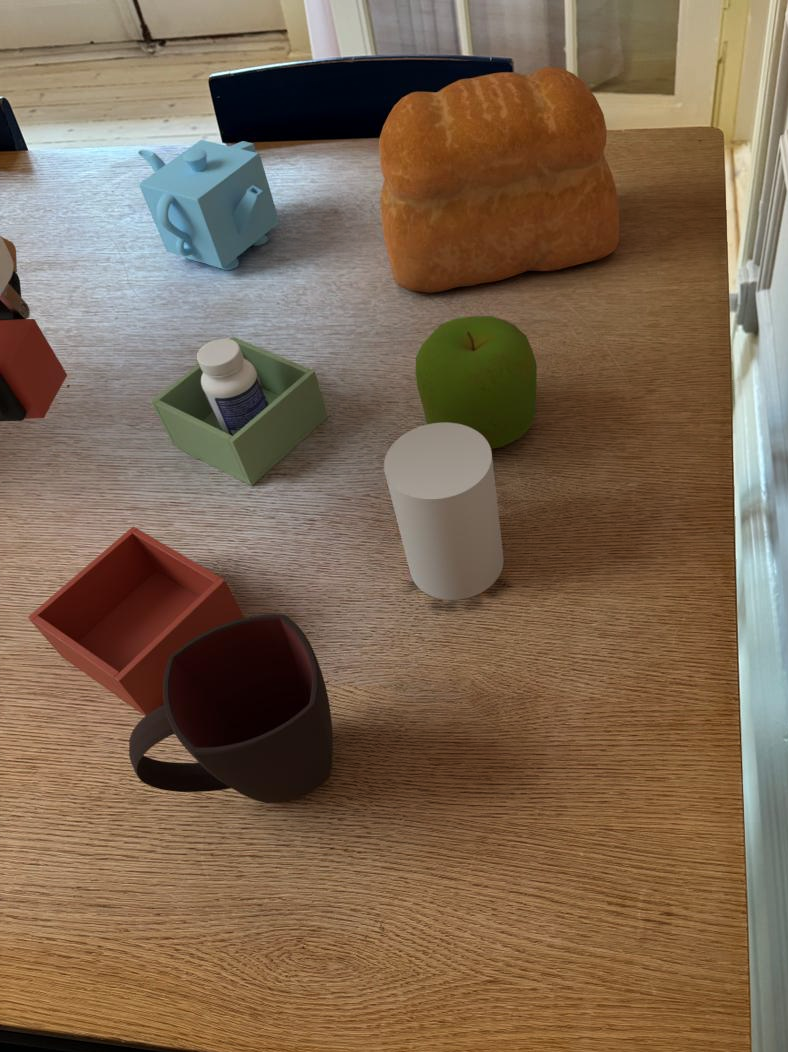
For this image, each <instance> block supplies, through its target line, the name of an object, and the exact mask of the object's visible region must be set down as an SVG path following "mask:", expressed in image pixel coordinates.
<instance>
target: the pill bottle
mask: <svg viewBox="0 0 788 1052" xmlns="http://www.w3.org/2000/svg"><path fill="white" fill-rule="evenodd" d="M196 359H197V362H198V364H199V365H200V367H201V370H202V371H203V374H202V377H201V385H202V388H203V391H204V393H205V395H206V397H207V400H208V402H209V404H210V406H211V408H212V411H213V413H214V415H215V418H216V420H217V422H218V425H219V427H220V429H221V431H223V432H225V433H227V434H229V435H232V436H234V435H235V434H236V433H237V432H238V431H239V430H241V429H242V428H243V427H244V426H245V425H246V424H248V423H249V422H250V421H251V420H252V419H253V418H255V417H256V416H257V415H258V414H259V413H260V412H262V411H263V410H264V409H265V408H266V407H267V406H269V404H268V402H267V399H266V396H265V394H264V391H263V388H262V385H261V383H260V380H259V377H258V375H257V372H256V370H255V368H254V366H253V365H252V364H251V363H250V362H249V361H248V360H246V359H244V357H243V354H242V352H241V349H240V347H239V345H238V343H237V342H235V341H234V340H231V339H230V338H218V339H214V340H210V341H209V342H207V343H205V344H203V346H201V347H200V348H199V349H198V352H197V354H196Z"/></svg>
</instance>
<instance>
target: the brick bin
mask: <svg viewBox="0 0 788 1052" xmlns="http://www.w3.org/2000/svg"><path fill="white" fill-rule="evenodd" d="M27 618H28V620H29V621H30V622H31V623H32V625H34V627H35V628H36V630H38V632H40V634H41V635H42V637H44V639H45V640H46V641H47V642H48V643H49V644H50V645H51V646H52V648H54V650H55V651H56V652H57V654H59V656H60V657H61V658H63V659H64V660H66V661H67V662H69V664H71V665H72V666H74V667H76V668H77V669H78V670H80V671H81V672H83V673H84V674H85V675H87V676H88V677H90V678H91V679H92V680H94V681H95V682H97V683H98V684H99V685H100V686H102V687H104V688H105V689H106V690H108V691H109V692H111V693H112V694H114V695H115V696H116V697H117V698H119V699H121V700H122V701H123V702H124V703H126V704H127V705H129V706H130V707H132V708H133V709H134V710H136V711H137V712H139V713H140V714H141V715H142V716H144V717H145V716H147V715H148V714H149V713H151V712H152V711H154V710H155V709H157V708H159V707H161V706H163V705H164V698H163V684H164V676H165V671H166V667H167V663H168V659H169V657H170V656H171V655H172V654H173V653H175V652H176V651H177V650H178V649H180V648H181V647H182V646H184V645H185V644H187V643H188V642H190V641H191V640H193V639H194V638H196V637H198V636H199V635H201V634H203V633H205V632H207V631H209V630H211V629H213V628H216V627H218V626H221V625H223V624H226V623H229V622H232V621H235V620H239V619H242V618H246V617H245V615H244V613H243V610H242V609H241V607H240V605H239V604H238V602H237V600H236V597H235V596H234V594H233V592H232V589H231V588H230V586H229V584H228V583H227V580H226V579H224V578H222V577H221V576H219V575H217V573H214V572H212V571H211V570H209V569H208V568H206V567H204V566H202V565H201V564H198V563H197V562H195V561H193V560H192V559H190V558H188V557H187V556H185V555H183V554H182V553H180V552H179V551H177V550H175V549H174V548H172V547H170V546H168V545H167V544H166V543H165V544H164V543H163V542H161V541H159V540H158V539H157V538H154V537H153V536H151V535H149V534H148V533H146V532H144V531H142V530H141V529H139V528H137V527H136V526H134V525H133V526H131V527H130V528H129V529H128V530H127V531H125V533H123V534H122V535H121V536H119V538H117V539H116V540H115V541H114V542H113V543H112V544H111V545H109V546H108V547H107V548H106V549H104V551H102V552H101V553H100V554H99V555H97V557H95V558H94V559H93V560H92V561H91V562H90V563H88V564H87V565H86V566H85V567H83V568H82V570H80V571H79V572H78V573H77V574H76V575H74V576H73V577H72V578H71V579H69V581H68V582H66V583H65V584H64V585H63V586H61V588H59V589H58V590H57V591H56V592H55V593H53V594H52V595H51V596H50V597H49V598H48V599H46V601H44V602H43V603H42V604H41V605H40V606H38V607H37V608H36V609H35V610H34V611H33V612H32V613H31V614H29V615H28V616H27Z"/></svg>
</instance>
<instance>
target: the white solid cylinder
mask: <svg viewBox="0 0 788 1052" xmlns="http://www.w3.org/2000/svg"><path fill="white" fill-rule="evenodd" d="M383 470H384V474H385V478H386V482H387V486H388V490H389V495H390V498H391V502H392V507H393V510H394V514H395V517H396V522H397V525H398V530H399V533H400V537H401V542H402V546H403V550H404V553H405V558H406V561H407V565H408V569H409V573H410V577H411V580H412V581H413V583H414V584H415V586H416V587H417V588H418V589H419V590H420V591H422V592H423V593H425V594H427V595H428V596H430V597H433V598H435V599H438V600H443V601H461V600H466V599H469V598H473V597H475V596H478V595H480V594H482V593H484V592H485V591H487V590H488V589H489V588H490V587H492V585H494V584H495V583H496V582H497V580H498V578H499V577H500V576H501V573H502V571H503V568H504V564H505V563H504V559H505V558H504V549H503V542H502V532H501V523H500V522H501V521H500V514H499V507H498V506H499V505H498V497H497V488H496V479H495V471H494V462H493V454H492V449H491V448H490V445H489V443H488V442H487V440H486V439H485V438H484V436H483V435H481V434H480V433H479V432H478V431H476V430H474V429H472V428H470V427H468V426H465V425H461V424H457V423H433V424H428V425H427V424H424V425H420V426H418V427H415V428H412V429H410V430H409V431H407V432H405V433H404V434H402V435H401V436H399V437H398V438H397V439H396V440H395V441H394V442H393V443H392V445H391V446H390V447H389V449H388V450H387V452H386V455H385V457H384V461H383Z"/></svg>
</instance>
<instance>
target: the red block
mask: <svg viewBox="0 0 788 1052" xmlns="http://www.w3.org/2000/svg"><path fill="white" fill-rule="evenodd" d="M0 374H1V375H2V376H3V378H4V379H5V381H6V382H7V384H8V385H9V387H10V388H11V390H12V391H13V393H14V394H15V396H16V397H17V399H18V400H19V402H20V403H21V405H22V406H23V408H24V409H25V411H26V413H27V415H26V417H25V418H24V420H33V419H34V420H35V419H39V420H40V419H45V418H46V415H47V414H48V412H49V411H50V410H49V409H50V408H51V406H52V404H53V402H54V400H55V399H56V397H57V395H58V393H59V391H60V390H61V388H62V385H63V384H64V382H65V380H66V378H67V376H68V373H67V372H66V370H65V368H64V367H63V364H62V363H61V362H60V360H59V359H58V356H57V355H56V353H55V352H54V350H53V349H52V347H51V344H50V343H49V341H48V340H47V338H46V336H45V335H44V333H43V331H42V330H41V328H40V326H39V325H38V323H37V321H36V319H35V318H27V319H19V320H0Z"/></svg>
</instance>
